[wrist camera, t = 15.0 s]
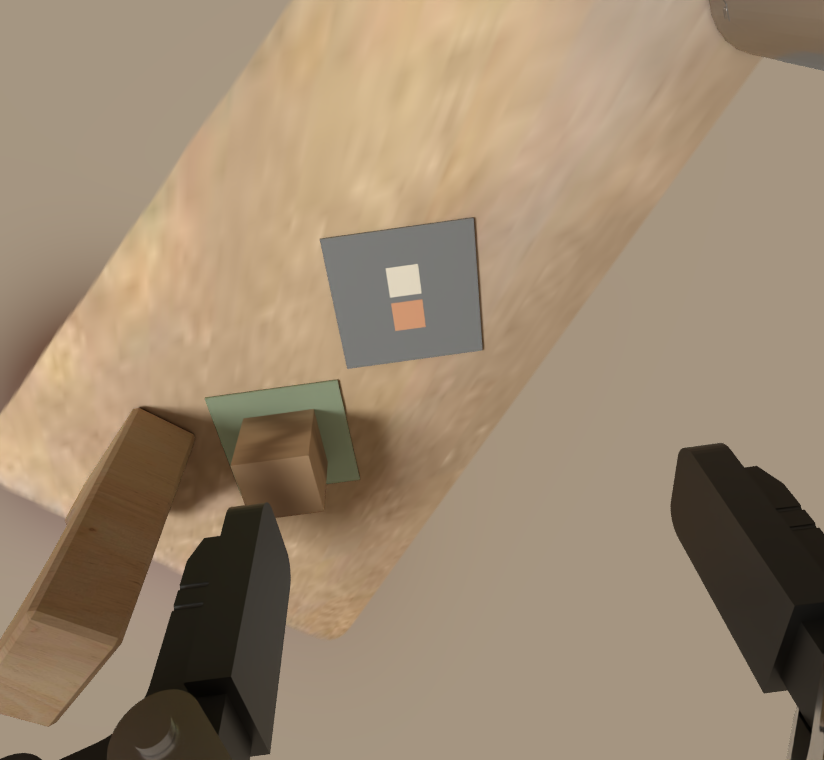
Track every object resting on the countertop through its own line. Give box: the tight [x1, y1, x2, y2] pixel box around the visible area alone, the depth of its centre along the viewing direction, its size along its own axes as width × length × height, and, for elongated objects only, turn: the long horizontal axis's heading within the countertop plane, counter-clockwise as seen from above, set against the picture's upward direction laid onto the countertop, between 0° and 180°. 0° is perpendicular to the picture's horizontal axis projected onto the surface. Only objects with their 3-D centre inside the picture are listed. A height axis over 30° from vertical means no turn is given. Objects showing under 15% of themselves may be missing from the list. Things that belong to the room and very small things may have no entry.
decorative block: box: [0, 408, 195, 727], centre depth 46 cm, size 11×6×20 cm, turn 141°
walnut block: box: [231, 409, 328, 518], centre depth 52 cm, size 6×6×6 cm
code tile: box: [320, 218, 482, 369], centre depth 47 cm, size 11×11×1 cm
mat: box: [205, 380, 360, 496], centre depth 54 cm, size 11×11×1 cm
